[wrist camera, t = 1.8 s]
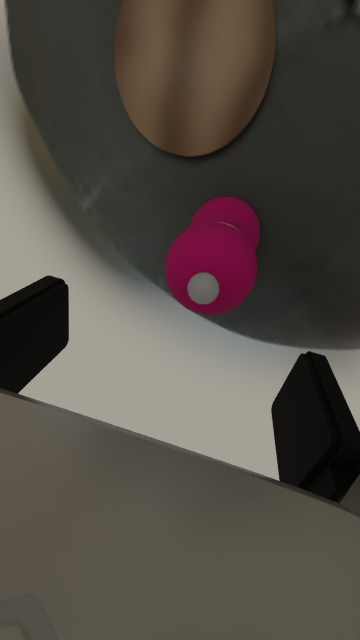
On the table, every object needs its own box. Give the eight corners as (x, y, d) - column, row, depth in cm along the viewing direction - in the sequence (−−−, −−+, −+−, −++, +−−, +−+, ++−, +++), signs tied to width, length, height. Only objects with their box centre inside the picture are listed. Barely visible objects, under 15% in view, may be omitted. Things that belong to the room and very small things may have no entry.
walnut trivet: (301, -29, 21) (307, -51, 19) (243, 171, 28) (242, 171, 26) (133, -59, 22) (121, -83, 20) (118, 140, 29) (108, 138, 27)
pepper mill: (183, 224, 32) (111, 284, 15) (231, 178, 29) (208, 187, 12) (222, 269, 34) (195, 369, 17) (271, 230, 30) (302, 306, 13)
